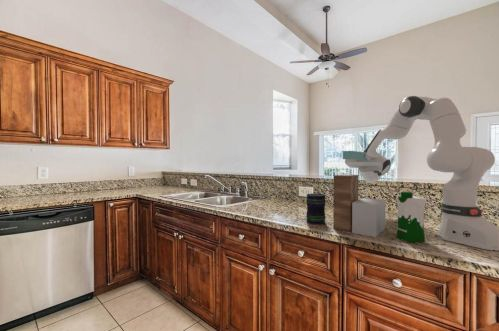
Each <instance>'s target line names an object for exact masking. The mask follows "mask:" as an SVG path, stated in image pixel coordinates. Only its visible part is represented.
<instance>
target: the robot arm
mask: <svg viewBox="0 0 499 331" xmlns="http://www.w3.org/2000/svg"><path fill="white" fill-rule="evenodd" d="M416 120H424V121H425V120H426V121H429V124H430V126H431V131H432V133H433V137H434V146H433V148H432V149H431V150H430V151H429V152H428V154H427V156H426V163H427V166H428V167H429V168H430V169H431V170H432V171H435V172H440V173H441V172H442V173H453V175H452V177H451V179H450V180H449V181H448V182H446V183H444V184H443V186H442V203H441V204H440V205H441V206H440V212H441V213H440V214H441V219H440V226H439V229H438V231H437V236H439V237H440V238H441V240H444V241H448V242H451V243H456V244H460V245H465V246H469V247H474V248H478V249H482V250H485V251H486V250H487V251H493V250H495V251H499V227H497V226H496V225H494V224H493V223H492V222H490V221H488V220H487V219H486V218H485V217H484V216H483V213H485V209H483V208H480V207H479V206H478V190H479V189H478V188H479V185H480V182H481V180H482V178H483V176H484V175H485V173H486V172H487V171H489V170H490V169H491V168H492V167H493V166H494V165H495V163H496V158H495V155H494V153H493V151H491V150H489V149H487V148H483V147H478V146H462V145H461V144H462V143H461V138H463V137H464V136H465V135H466V133H467V128H466V126H465V124H464V121H463V119H462V116H461V113H460V111H459V110H458V108H457V106H456V105H455V103H454V101H452V99H450V98H448V97H439V98H432V97H428V96H417V95H409V96H406V97H404V98H403V99H402V100H401V101H400V103H399V105H398V108H397V109H396V110H395V112H394V113H393V114H392V116H391V119H390V120H389V122H388V123H387V125H386V126H385V127H381V128H380V129H379V130H378V131H377V132H376V134H375V135H374V136H373V138H372V140H371V141H370V142H369V144H368V146H367V147H366V148H365V149H364V150H363V152H366V154H364V157H365V158H366V159H365V160H357V159H344V164H346V166H347V167H348V168H352V169H353V168H354V169H358V171H359V173H360V175H361V177H362V178H363V180H364V181H365V182H367V183H369V184H375V183H377V182H378V181H379V179H380V177H381V176H383V175H385V174H387V173H388V172H389V171H390V169H391V166H392V162H391V159H389V158H387V157H386V156H385V155H382V154H380V153H379V152H377V149H378V148H379V147H380V145H381V143H383V141H384V140H386V139H387V140H401V139H403V138H405V137H406V136H407V135H408V133H409V132H410V130H411V128H412V126H413V124H414V123H415V121H416Z"/></svg>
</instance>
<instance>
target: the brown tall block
mask: <svg viewBox="0 0 499 331" xmlns="http://www.w3.org/2000/svg"><path fill="white" fill-rule="evenodd" d="M357 200H359V174H345V173H343V174H334V175H333V209H332V210H333V216H332V217H333V218H332V220H333V222H332V223H333V224H332V226H333V229H334V230H338V231H344V232H350V233H351V232H352V202H355V201H357Z"/></svg>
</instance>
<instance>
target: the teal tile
mask: <svg viewBox="0 0 499 331" xmlns="http://www.w3.org/2000/svg"><path fill="white" fill-rule="evenodd" d="M364 154H366V152H364V151H356V150H343V151H342V160H345V159H357V160H365V159H366V158H365V157H364Z"/></svg>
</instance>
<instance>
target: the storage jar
mask: <svg viewBox="0 0 499 331" xmlns="http://www.w3.org/2000/svg"><path fill="white" fill-rule="evenodd" d="M325 206H326V194H324V193H315V192H314V193H306V215H305V216H306V223H307V224H308V225H309V224H310V225H316V226H319V225H325V224H326V211H325V209H326V207H325Z"/></svg>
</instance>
